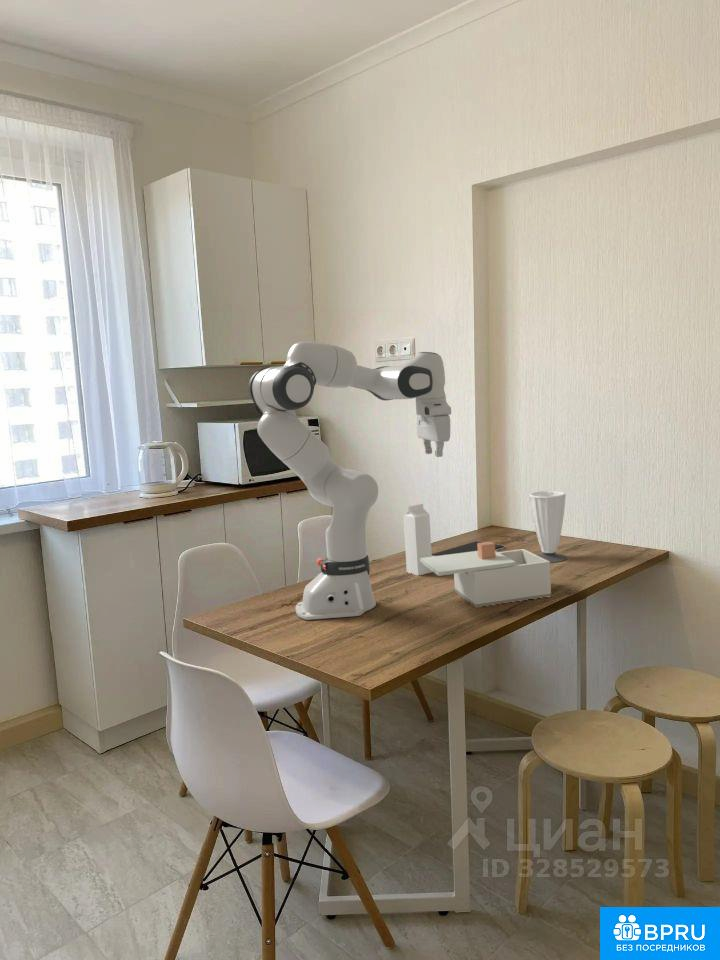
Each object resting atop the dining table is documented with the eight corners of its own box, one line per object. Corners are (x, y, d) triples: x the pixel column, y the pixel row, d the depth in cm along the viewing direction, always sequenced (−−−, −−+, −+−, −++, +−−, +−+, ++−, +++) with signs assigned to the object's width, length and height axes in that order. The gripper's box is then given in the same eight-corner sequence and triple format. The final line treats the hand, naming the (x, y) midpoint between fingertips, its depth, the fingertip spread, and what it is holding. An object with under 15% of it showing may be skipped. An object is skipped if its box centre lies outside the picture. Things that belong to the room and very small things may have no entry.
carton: (475, 608, 191) (473, 571, 190) (454, 591, 207) (452, 558, 205) (551, 596, 196) (549, 561, 194) (524, 581, 211) (523, 548, 210)
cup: (532, 553, 242) (530, 491, 239) (567, 553, 239) (565, 490, 236) (530, 562, 231) (528, 497, 228) (567, 562, 228) (565, 496, 225)
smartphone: (506, 549, 253) (506, 545, 252) (455, 566, 235) (454, 560, 235) (477, 544, 263) (477, 540, 262) (426, 560, 245) (425, 555, 245)
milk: (406, 572, 230) (401, 505, 227) (421, 568, 233) (416, 502, 230) (418, 576, 225) (414, 507, 222) (433, 572, 228) (428, 504, 225)
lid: (438, 575, 188) (437, 557, 187) (420, 561, 203) (419, 544, 202) (515, 565, 192) (515, 547, 192) (492, 552, 208) (491, 535, 207)
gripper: (410, 408, 218) (413, 453, 220) (432, 410, 198) (434, 459, 200) (430, 406, 219) (432, 451, 221) (453, 408, 199) (455, 457, 201)
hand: (433, 455), depth 210 cm, fingers open, 8 cm apart
